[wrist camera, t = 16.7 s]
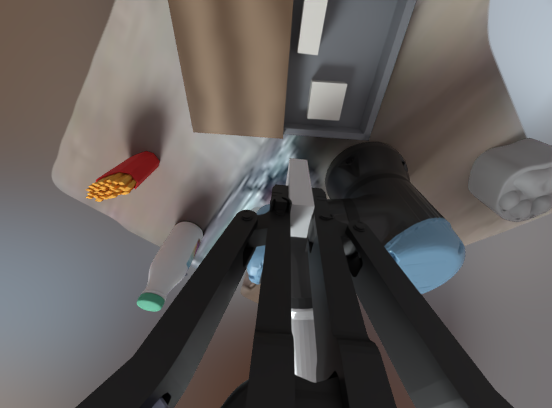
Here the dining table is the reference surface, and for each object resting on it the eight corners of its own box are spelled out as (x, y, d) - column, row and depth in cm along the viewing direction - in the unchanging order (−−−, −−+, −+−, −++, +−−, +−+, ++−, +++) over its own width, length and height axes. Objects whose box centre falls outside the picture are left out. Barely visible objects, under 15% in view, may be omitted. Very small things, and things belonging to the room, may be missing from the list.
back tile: (312, 81, 29) (310, 79, 31) (307, 118, 32) (306, 114, 34) (347, 84, 29) (343, 81, 31) (339, 120, 32) (336, 116, 34)
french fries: (136, 174, 44) (94, 209, 35) (122, 158, 42) (74, 191, 32) (168, 163, 42) (133, 197, 33) (155, 146, 40) (113, 177, 30)
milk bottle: (168, 225, 53) (117, 300, 38) (190, 216, 51) (146, 292, 35) (188, 243, 57) (150, 318, 42) (209, 236, 55) (177, 312, 39)
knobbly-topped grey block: (544, 132, 35) (607, 153, 28) (522, 191, 42) (568, 219, 35) (473, 153, 38) (514, 177, 31) (463, 205, 45) (495, 233, 38)
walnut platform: (294, -21, 25) (296, -37, 21) (283, 126, 36) (282, 138, 32) (183, -29, 25) (159, -46, 21) (205, 121, 36) (193, 132, 32)
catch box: (407, -13, 25) (424, -22, 22) (361, 132, 36) (368, 140, 33) (294, -21, 25) (295, -31, 22) (283, 126, 36) (283, 134, 33)
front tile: (302, 3, 26) (322, 6, 26) (296, 52, 29) (313, 54, 29) (305, -5, 22) (328, -2, 22) (297, 52, 25) (317, 55, 25)
